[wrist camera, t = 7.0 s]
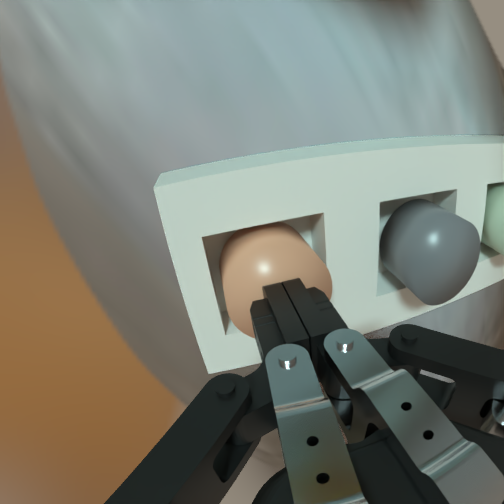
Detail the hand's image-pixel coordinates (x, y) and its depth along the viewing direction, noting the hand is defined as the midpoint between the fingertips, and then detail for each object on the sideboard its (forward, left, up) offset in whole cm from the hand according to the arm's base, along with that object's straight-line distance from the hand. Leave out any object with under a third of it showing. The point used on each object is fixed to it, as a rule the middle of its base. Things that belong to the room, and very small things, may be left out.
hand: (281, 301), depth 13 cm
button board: (0, +8, -5) cm, 9 cm away
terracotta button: (0, 0, -3) cm, 3 cm away
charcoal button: (0, +8, -2) cm, 8 cm away
